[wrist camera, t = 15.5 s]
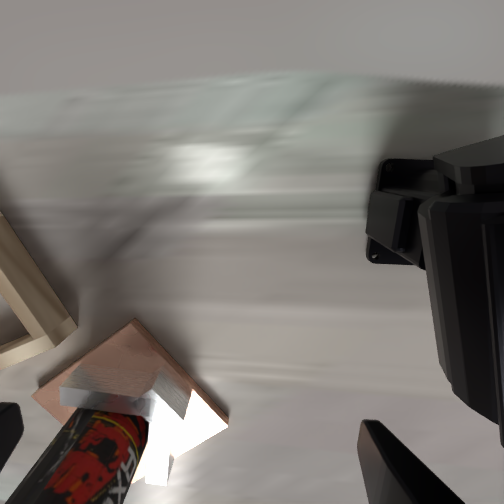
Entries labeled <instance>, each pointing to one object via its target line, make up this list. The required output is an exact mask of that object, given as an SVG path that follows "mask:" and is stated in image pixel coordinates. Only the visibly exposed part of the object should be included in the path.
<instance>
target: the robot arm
mask: <svg viewBox="0 0 504 504" xmlns="http://www.w3.org/2000/svg"><path fill="white" fill-rule="evenodd" d="M388 163H390V164H391V167H392V168H391V170H390V171H387V170H386V165H387V164H388ZM366 234H367V235H368V236H369V238H368V245H367V252H366V257H367V259H368V260H369V261H370V262H372V263H375V264H398V265H416V266H417V267H419V268H420V269H423V270H426V274H427V281H428V288H429V295H430V302H431V309H432V316H433V323H434V330H435V337H436V344H437V350H438V357H439V363H440V365H441V367H442V369H443V371H444V373H445V375H446V377H447V379H448V381H449V382H450V383H451V385H452V391H453V392H454V394H455V395H456V396H458V397H459V398H460V399H461V400H462V401H463V402H464V403H465V404H466V405H467V406H469V407H470V408H471V409H473V410H475V411H476V412H478V413H479V414H481V415H482V416H484V417H486V418H487V419H489V420H490V421H492V422H494V423H496V424H498V425H499V431H500V442H501V445H502V446H503V448H504V135H502V136H499V137H495V138H492V139H489V140H485V141H482V142H478V143H475V144H471V145H468V146H464V147H461V148H458V149H454V150H451V151H447V152H444V153H440V154H437V155H434V156H433V160H414V159H385V160H383V161H382V162H381V163H380V166H379V171H378V177H377V184H376V191H374V192H373V193H372V194H371V197H370V204H369V211H368V218H367V225H366ZM376 252H377V253H378V255H377V257H376V258H372V255H373V254H374V253H376ZM23 432H24V424H23V419H22V415H21V410H20V406H19V405H18V404H17V403H11V402H1V403H0V472H1V471H2V469H3V467H4V466H5V464H6V462H7V461H8V459H9V457H10V456H11V454H12V452H13V451H14V449H15V448H16V446H17V444H18V443H19V441H20V439H21V437H22V435H23ZM357 450H358V456H359V461H360V465H361V470H362V474H363V479H364V483H365V488H366V492H367V497H368V501H369V504H465V503H464V502H463V501H462V500H461V499H460V498H459V497H458V496H457V495H456V494H455V493H454V492H453V491H452V490H451V489H450V488H449V487H448V486H447V485H446V484H445V483H443V482H442V481H441V480H440V479H439V478H438V477H437V476H436V475H435V474H434V473H433V472H432V471H431V470H430V469H429V468H428V467H427V466H426V465H425V464H424V463H423V462H422V461H421V460H420V459H419V458H417V457H416V456H415V455H414V454H413V453H412V452H411V451H410V450H409V449H408V448H407V447H406V446H405V445H404V444H403V443H402V442H401V441H400V440H399V439H398V438H397V437H396V436H395V435H394V434H393V433H392V432H390V431H389V430H388V429H387V428H386V427H385V426H384V425H383V424H382V423H381V422H380V421H378V420H368V419H364V420H362V422H361V425H360V431H359V437H358V443H357Z"/></svg>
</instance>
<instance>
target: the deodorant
mask: <svg viewBox="0 0 504 504" xmlns="http://www.w3.org/2000/svg"><path fill="white" fill-rule="evenodd" d="M148 436H149V422H148V421H147V420H146V419H145V418H144V417H143V416H137V415H130V414H122V413H115V412H107V411H100V410H93V409H85V408H78V407H77V409H76V410H75V411H74V413H73V414H72V415H71V417H70V418H69V419H68V421H67V422H66V423H65V425H64V426H63V427H62V429H61V430H60V431H59V433H58V434H57V435H56V437H55V438H54V439H53V441H52V442H51V443H50V445H49V446H48V447H47V449H46V450H45V451H44V453H43V454H42V455H41V456H40V458H39V459H38V460H37V462H36V463H35V464H34V466H33V467H32V468H31V470H30V471H29V472H28V474H27V475H26V476H25V478H24V479H23V480H22V482H21V483H20V484H19V486H18V487H17V488H16V490H15V491H14V492H13V494H12V495H11V496H10V498H9V499H8V500H7V501H6V503H5V504H123V502H124V499H125V497H126V494H127V492H128V489H129V487H130V484H131V482H132V480H133V477H134V475H135V472H136V470H137V467H138V465H139V462H140V460H141V457H142V455H143V452H144V450H145V448H146V445H147V443H148Z"/></svg>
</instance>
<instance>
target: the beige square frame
mask: <svg viewBox="0 0 504 504" xmlns="http://www.w3.org/2000/svg"><path fill="white" fill-rule="evenodd" d="M0 293H1V295H2V296H3V297H4V299H5V300H6V302H7V303H8V304H9V306H10V307H11V309H12V310H13V311H14V313H15V314H16V316H17V317H18V318H19V320H20V321H21V322H22V324H23V325H24V327H25V328H26V329H27V331H28V332H29V334H27V335H25V336H23V337H20V338H18V339H16V340H13V341H11V342H8V343H6V344H4V345H1V346H0V370H2V369H4V368H6V367H9V366H11V365H14V364H16V363H19V362H21V361H23V360H26V359H28V358H31V357H33V356H36V355H38V354H40V353H43V352H45V351H48V350H50V349H53V348H55V347H56V346H58V345H59V344H60V343H61V342H62V341H63V340H64V339H65V338H67V337H68V336H69V335H70V334H71V333H72V332H73V331H74V330H76V329H77V328H78V327H77V325H76V324H75V322H74V321H73V319H72V318H71V316H70V315H69V313H68V312H67V310H66V309H65V307H64V306H63V304H62V303H61V301H60V300H59V298H58V297H57V295H56V294H55V292H54V291H53V289H52V288H51V286H50V285H49V283H48V282H47V280H46V279H45V277H44V276H43V274H42V273H41V271H40V270H39V268H38V267H37V265H36V264H35V262H34V261H33V259H32V258H31V256H30V255H29V253H28V252H27V250H26V249H25V247H24V246H23V244H22V243H21V241H20V240H19V238H18V237H17V235H16V234H15V232H14V231H13V229H12V228H11V226H10V225H9V223H8V222H7V220H6V219H5V217H4V216H3V214H2V213H1V211H0Z"/></svg>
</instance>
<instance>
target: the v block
mask: <svg viewBox="0 0 504 504" xmlns="http://www.w3.org/2000/svg"><path fill="white" fill-rule="evenodd" d="M31 397H32V398H33V399H34V400H36V401H37V402H38V403H39V404H40V405H41V406H42V407H43V408H44V409H46V410H47V411H48V412H49V413H50V414H51V415H52V416H53V417H55V418H56V419H57V420H58V421H59V422H60V423H61V424H62V425H63V426H64V425H65V423H66V422H67V421H68V419H69V418H70V417H71V415H72V414H73V413H74V411H75V410H76V409H77V407H78V408H85V409H93V410H100V411H107V412H115V413H122V414H130V415H137V416H143V417H144V418H145V419H146V420H147V421H148V422H149V436H148V443H147V445H146V448H145V450H144V452H143V455H142V457H141V460H140V462H139V465H138V467H137V470H136V472H135V475H134V477H133V480H132V482H131V483H133V482H135V481H137V480H138V479H140V478H142V477H143V476H145V475H146V483H149V484H157V485H165V486H166V485H167V482H168V478H169V475H170V472H171V468H172V465H173V461H174V458H175V457H177V456H179V455H181V454H182V453H184V452H186V451H187V450H189V449H191V448H192V447H194V446H196V445H197V444H199V443H201V442H203V441H204V440H206V439H208V438H209V437H211V436H213V435H214V434H216V433H218V432H219V431H221V430H223V429H225V428H226V427H228V421H229V418H228V417H227V416H226V415H225V413H224V412H223V411H222V410H221V409H220V408H219V407H218V406H217V405H216V404H215V403H214V402H213V401H212V400H211V399H210V397H209V396H208V395H207V394H206V393H205V392H204V391H203V390H202V389H201V388H200V387H199V386H198V385H197V384H196V383H195V381H194V380H193V379H192V378H191V377H190V376H189V375H188V374H187V373H186V372H185V371H184V370H183V369H182V368H181V366H180V365H179V364H178V363H177V362H176V361H175V360H174V359H173V358H172V357H171V356H170V355H169V354H168V353H167V352H166V350H165V349H164V348H163V347H162V346H161V345H160V344H159V343H158V342H157V341H156V340H155V339H154V338H153V337H152V336H151V334H150V333H149V332H148V331H147V330H146V329H145V328H144V327H143V326H142V325H141V324H140V323H139V322H138V321H137V320H136V318H134V319H133V320H132V321H130V322H129V323H128V324H126V325H125V326H123V327H122V328H121V329H119V330H118V331H117V332H115V333H114V334H113V335H111V336H110V337H108V338H107V339H106V340H104V341H103V342H102V343H100V344H99V345H97V346H96V347H95V348H93V349H92V350H91V351H89V352H88V353H87V354H85V355H84V356H82V357H81V358H80V359H78V360H77V361H76V362H74V363H73V364H71V365H70V366H69V367H67V368H66V369H65V370H63V371H62V372H60V373H59V374H58V375H56V376H55V377H54V378H52V379H51V380H50V381H48V382H47V383H45V384H44V385H43V386H41V387H40V388H39V389H38V390H37V391H36V392H35V393H34V394H33V395H32V396H31Z"/></svg>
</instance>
